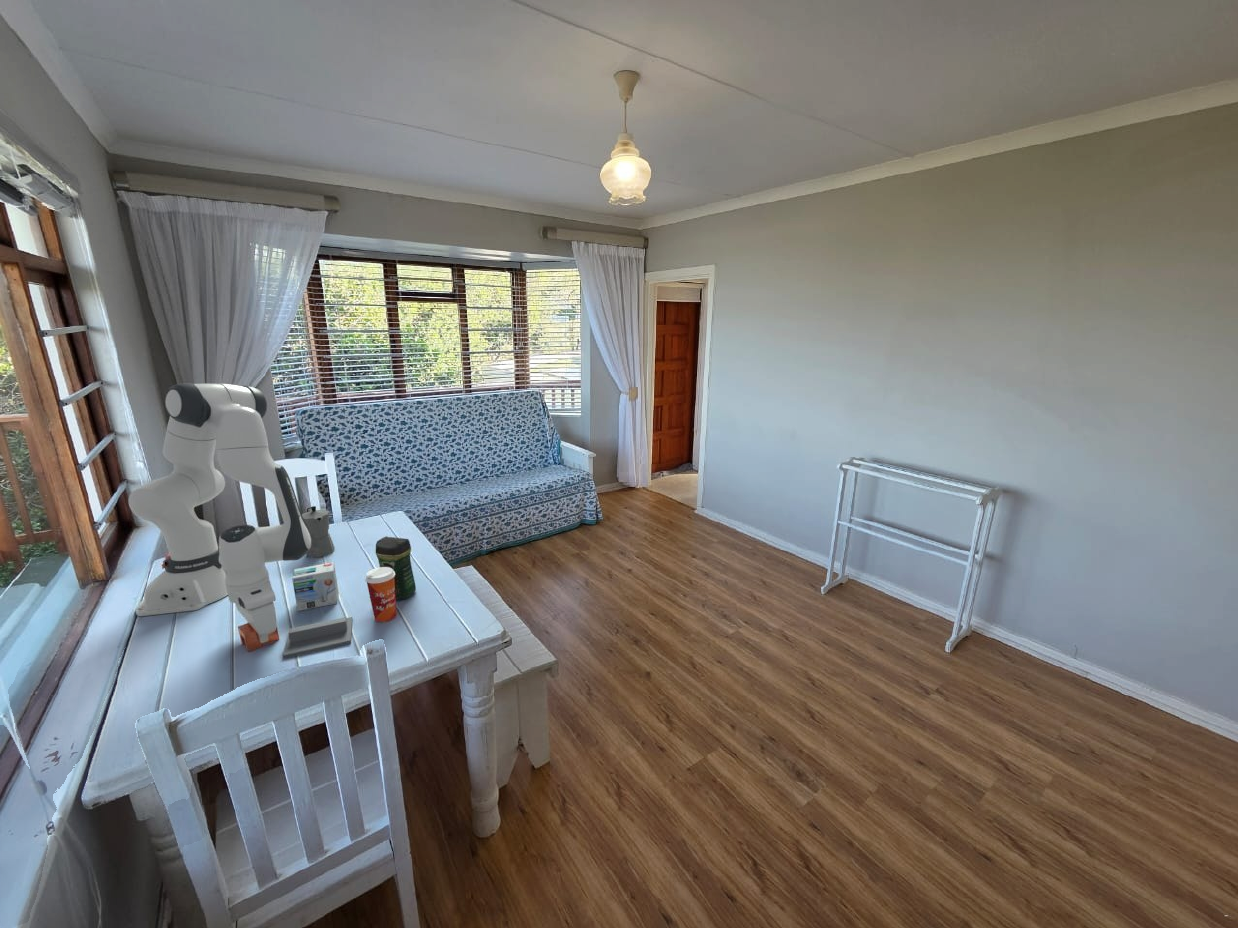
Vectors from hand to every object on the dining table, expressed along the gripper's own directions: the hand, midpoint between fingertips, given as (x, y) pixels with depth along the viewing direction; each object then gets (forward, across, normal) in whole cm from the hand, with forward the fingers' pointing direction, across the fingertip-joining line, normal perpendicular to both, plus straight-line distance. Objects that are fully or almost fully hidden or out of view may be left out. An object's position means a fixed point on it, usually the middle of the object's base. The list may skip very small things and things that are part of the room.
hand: (259, 635), depth 130 cm
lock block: (+2, 0, 0) cm, 2 cm away
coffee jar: (+2, +4, +35) cm, 36 cm away
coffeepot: (+2, -47, +32) cm, 57 cm away
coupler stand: (+2, +10, +10) cm, 15 cm away
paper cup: (+2, +14, +27) cm, 30 cm away
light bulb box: (+2, -9, +18) cm, 20 cm away
